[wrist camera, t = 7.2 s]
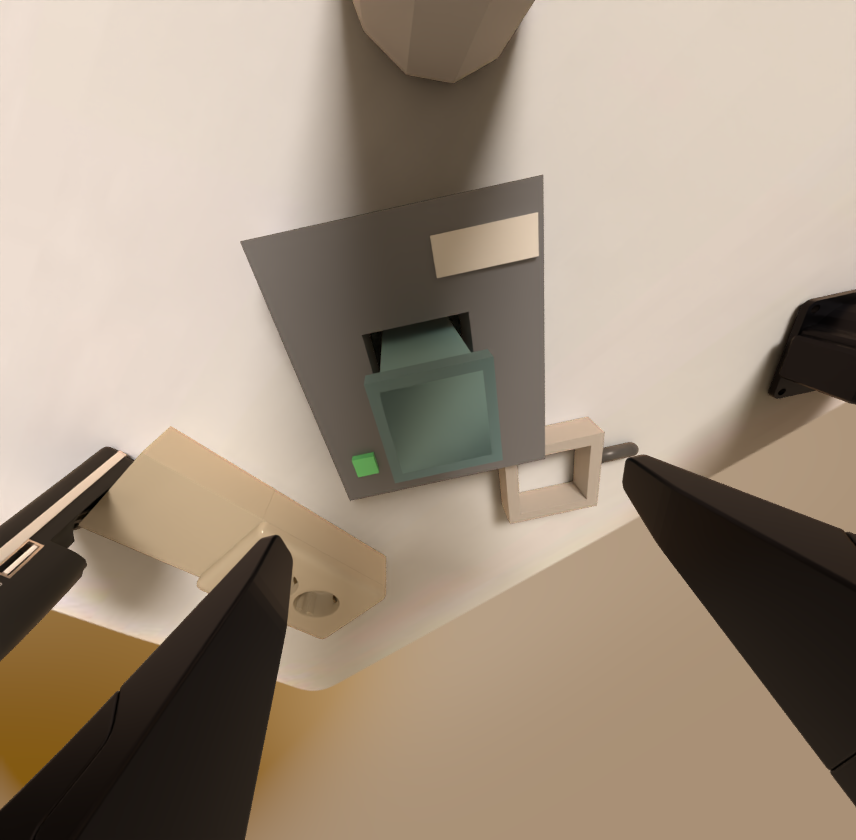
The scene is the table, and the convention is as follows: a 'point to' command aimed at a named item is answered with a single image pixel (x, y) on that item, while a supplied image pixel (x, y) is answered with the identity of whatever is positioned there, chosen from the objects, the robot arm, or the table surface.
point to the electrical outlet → (236, 531)
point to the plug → (434, 401)
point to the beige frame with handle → (585, 477)
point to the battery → (49, 545)
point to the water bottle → (441, 33)
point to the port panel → (412, 312)
